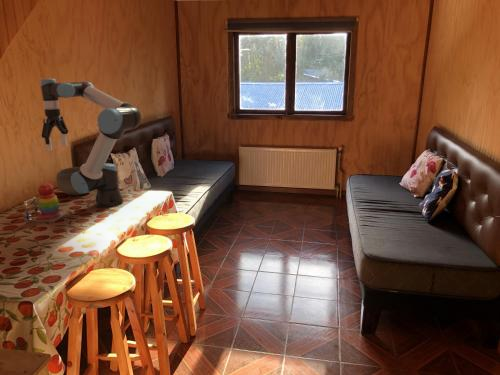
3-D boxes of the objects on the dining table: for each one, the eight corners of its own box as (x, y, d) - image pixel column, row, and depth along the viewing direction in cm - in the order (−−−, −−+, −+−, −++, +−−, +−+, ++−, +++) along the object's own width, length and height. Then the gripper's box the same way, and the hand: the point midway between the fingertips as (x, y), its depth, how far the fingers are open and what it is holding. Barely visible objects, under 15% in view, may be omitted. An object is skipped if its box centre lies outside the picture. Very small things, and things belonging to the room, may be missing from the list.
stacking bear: (46, 212, 225) (42, 180, 220) (64, 213, 224) (60, 180, 219) (34, 219, 215) (29, 186, 210) (53, 220, 214) (48, 186, 209)
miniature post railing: (48, 211, 229) (45, 196, 227) (29, 221, 215) (26, 205, 212) (35, 210, 231) (33, 195, 228) (15, 220, 216) (12, 204, 214)
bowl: (87, 198, 252) (85, 173, 248) (52, 198, 252) (49, 174, 248) (99, 188, 273) (96, 165, 269) (67, 189, 272) (64, 166, 268)
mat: (67, 214, 224) (67, 213, 224) (53, 222, 213) (53, 221, 213) (47, 213, 227) (46, 212, 226) (32, 220, 215) (32, 219, 215)
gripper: (59, 106, 238) (64, 143, 244) (30, 110, 215) (36, 152, 221) (71, 106, 237) (76, 144, 243) (43, 110, 214) (49, 152, 219)
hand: (57, 147), depth 232 cm, fingers open, 13 cm apart
